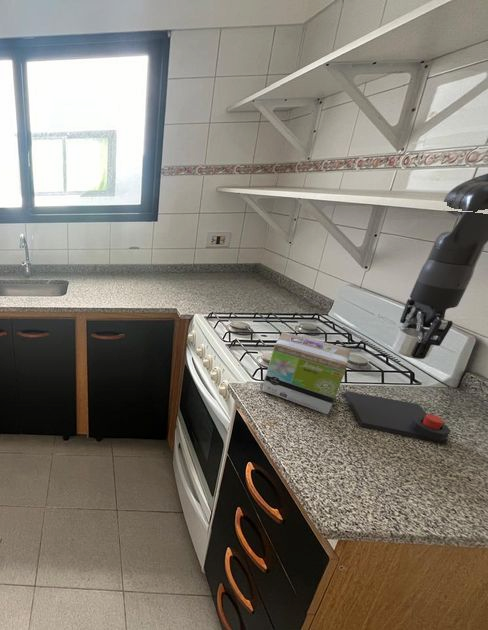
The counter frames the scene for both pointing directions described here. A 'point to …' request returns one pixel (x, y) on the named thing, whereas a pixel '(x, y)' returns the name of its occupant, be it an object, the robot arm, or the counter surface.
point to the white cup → (407, 342)
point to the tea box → (306, 371)
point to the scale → (394, 417)
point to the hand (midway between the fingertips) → (410, 350)
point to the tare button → (433, 422)
